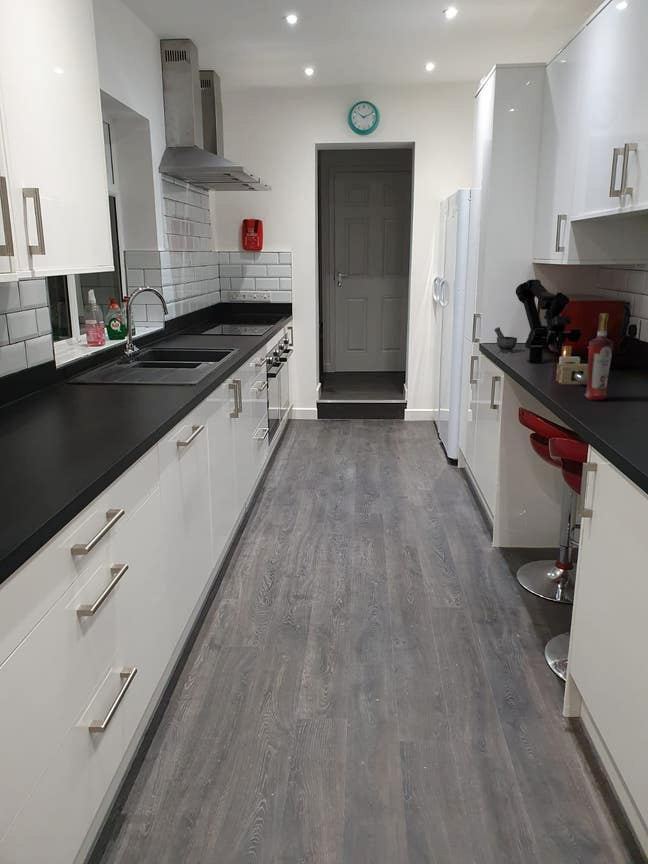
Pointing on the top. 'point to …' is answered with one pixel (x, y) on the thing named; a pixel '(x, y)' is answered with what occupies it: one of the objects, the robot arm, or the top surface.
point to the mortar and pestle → (505, 341)
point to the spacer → (569, 360)
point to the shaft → (567, 353)
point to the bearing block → (566, 371)
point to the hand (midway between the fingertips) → (559, 352)
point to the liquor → (599, 362)
